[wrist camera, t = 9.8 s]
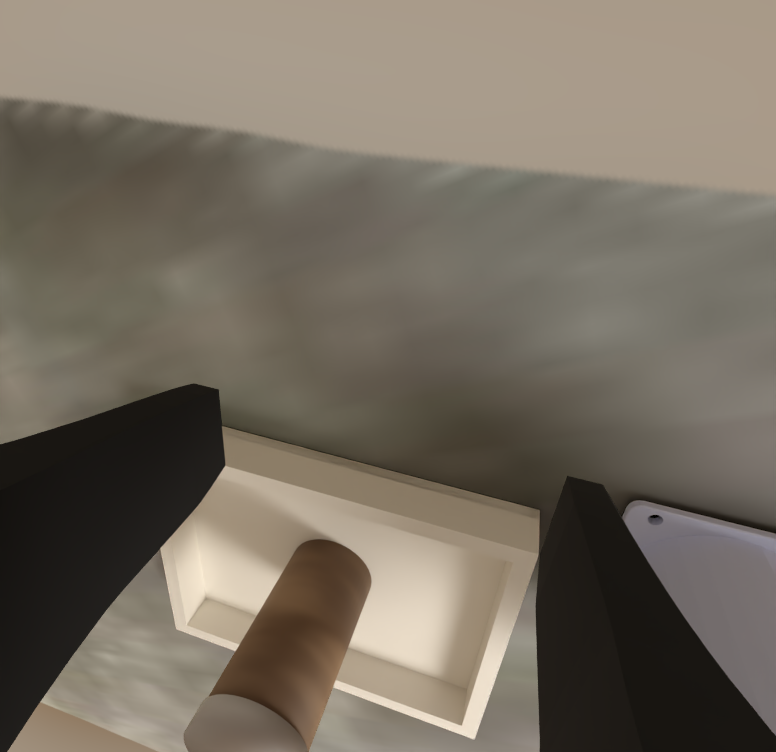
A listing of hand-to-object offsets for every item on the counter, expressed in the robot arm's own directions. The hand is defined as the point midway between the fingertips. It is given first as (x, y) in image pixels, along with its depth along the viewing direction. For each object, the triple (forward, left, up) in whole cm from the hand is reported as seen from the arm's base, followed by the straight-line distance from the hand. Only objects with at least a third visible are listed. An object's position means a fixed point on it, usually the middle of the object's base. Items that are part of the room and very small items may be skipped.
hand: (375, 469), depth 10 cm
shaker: (+4, +15, -9) cm, 18 cm away
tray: (+4, +15, -9) cm, 18 cm away
